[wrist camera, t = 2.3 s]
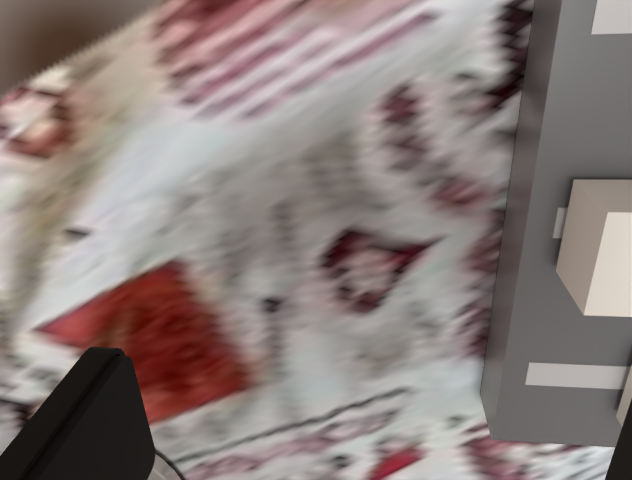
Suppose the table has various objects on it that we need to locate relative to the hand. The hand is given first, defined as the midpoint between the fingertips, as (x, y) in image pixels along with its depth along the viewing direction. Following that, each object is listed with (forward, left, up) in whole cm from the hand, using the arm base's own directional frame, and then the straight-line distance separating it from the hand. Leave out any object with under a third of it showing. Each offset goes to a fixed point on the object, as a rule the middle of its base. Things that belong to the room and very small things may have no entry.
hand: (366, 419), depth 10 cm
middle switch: (0, -8, -11) cm, 13 cm away
